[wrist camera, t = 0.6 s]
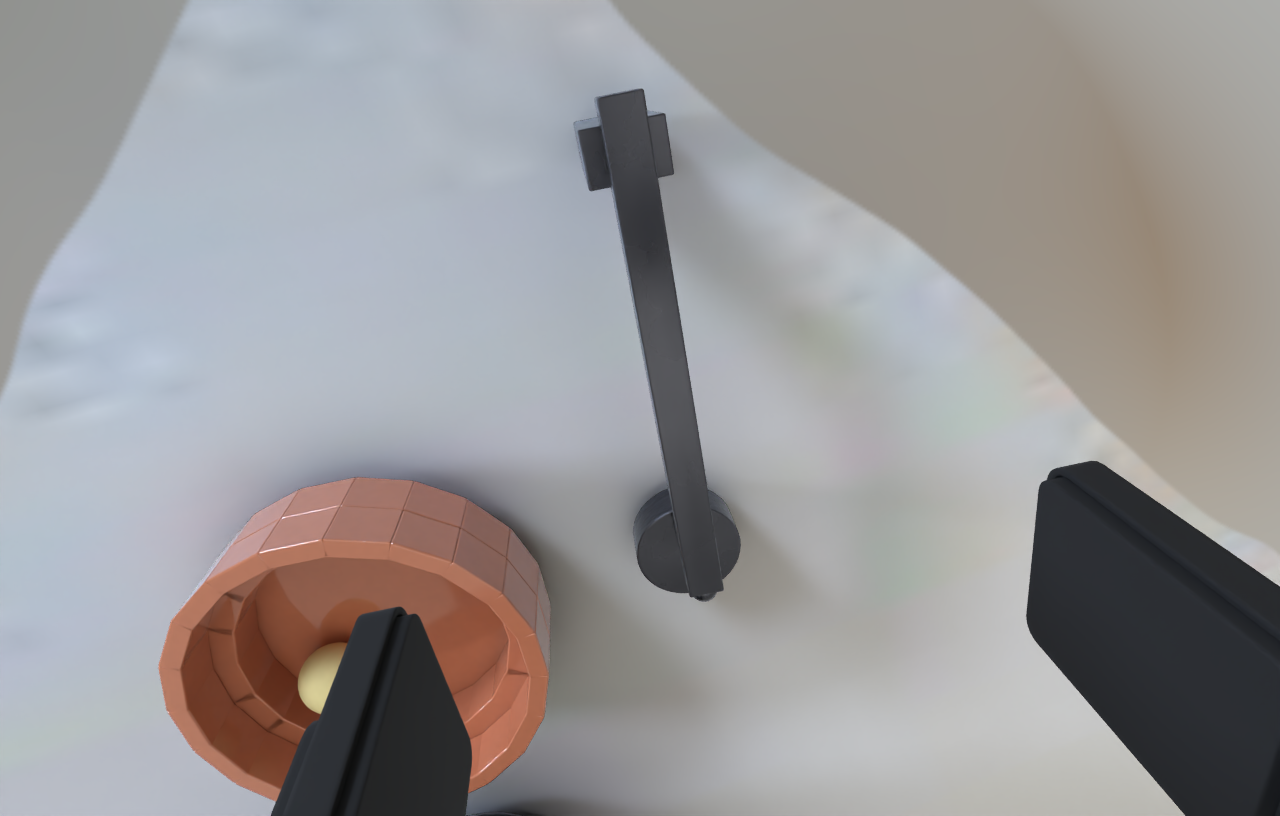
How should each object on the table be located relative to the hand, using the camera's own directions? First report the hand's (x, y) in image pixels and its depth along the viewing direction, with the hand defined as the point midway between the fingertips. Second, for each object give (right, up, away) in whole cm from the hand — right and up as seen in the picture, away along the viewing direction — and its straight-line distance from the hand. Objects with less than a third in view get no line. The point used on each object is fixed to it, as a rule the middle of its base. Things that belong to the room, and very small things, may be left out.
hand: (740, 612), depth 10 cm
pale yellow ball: (-15, -9, +20) cm, 27 cm away
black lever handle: (-1, +5, +18) cm, 19 cm away
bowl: (-13, -6, +21) cm, 26 cm away
